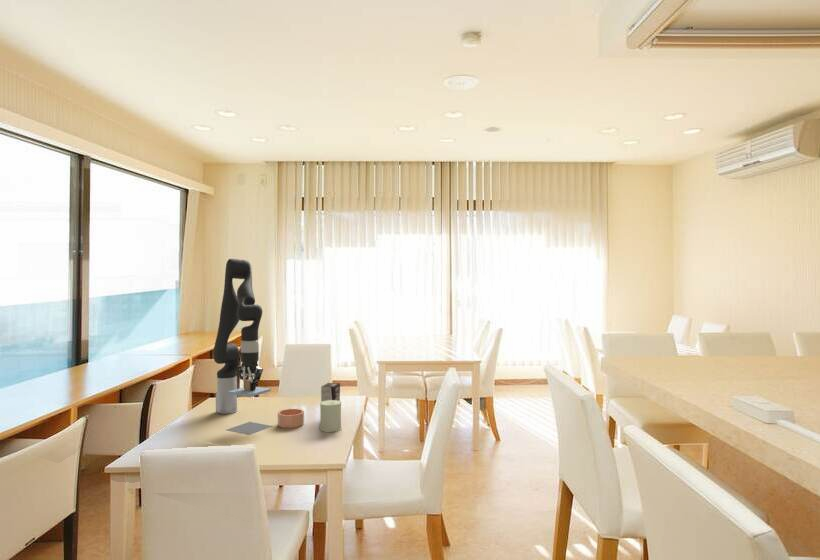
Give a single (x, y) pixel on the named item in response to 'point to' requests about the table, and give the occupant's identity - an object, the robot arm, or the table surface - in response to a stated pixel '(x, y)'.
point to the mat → (249, 428)
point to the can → (330, 415)
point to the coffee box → (330, 392)
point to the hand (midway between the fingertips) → (249, 389)
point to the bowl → (290, 418)
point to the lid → (248, 390)
